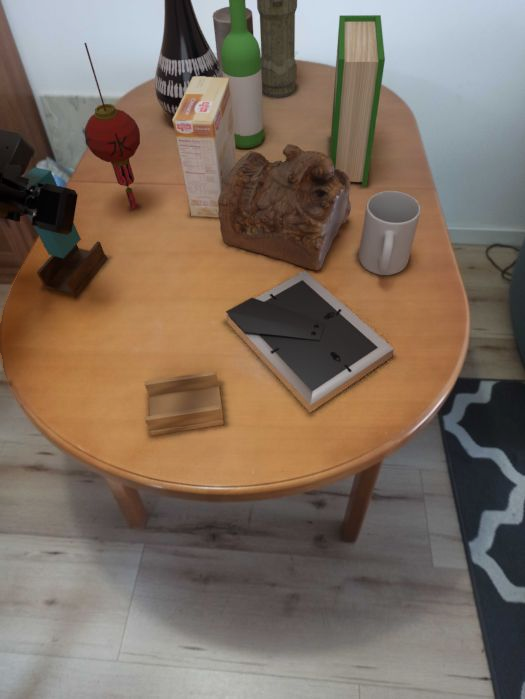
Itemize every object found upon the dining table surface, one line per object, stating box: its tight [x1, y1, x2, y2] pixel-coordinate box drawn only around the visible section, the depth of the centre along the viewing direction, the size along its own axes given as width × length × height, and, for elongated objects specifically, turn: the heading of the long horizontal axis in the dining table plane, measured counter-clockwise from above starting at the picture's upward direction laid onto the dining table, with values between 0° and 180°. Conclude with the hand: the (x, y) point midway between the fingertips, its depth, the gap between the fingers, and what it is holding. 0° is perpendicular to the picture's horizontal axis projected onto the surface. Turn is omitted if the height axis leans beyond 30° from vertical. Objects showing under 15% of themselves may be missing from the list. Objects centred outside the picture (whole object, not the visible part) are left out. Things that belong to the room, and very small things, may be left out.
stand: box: [144, 370, 225, 436], centre depth 70 cm, size 10×7×4 cm, turn 99°
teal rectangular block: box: [23, 167, 82, 258], centre depth 79 cm, size 5×3×13 cm, turn 158°
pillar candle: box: [211, 6, 254, 71], centre depth 126 cm, size 10×10×15 cm
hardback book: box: [329, 14, 386, 188], centre depth 97 cm, size 18×7×24 cm, turn 174°
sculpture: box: [218, 143, 352, 271], centre depth 89 cm, size 19×18×20 cm
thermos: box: [256, 0, 298, 99], centre depth 112 cm, size 9×12×35 cm
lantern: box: [84, 42, 141, 211], centre depth 88 cm, size 10×10×30 cm
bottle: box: [221, 0, 265, 149], centre depth 101 cm, size 8×8×30 cm
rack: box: [36, 240, 108, 298], centre depth 88 cm, size 10×7×4 cm, turn 159°
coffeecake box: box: [171, 76, 238, 219], centre depth 94 cm, size 15×7×20 cm, turn 171°
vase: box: [154, 0, 223, 119], centre depth 108 cm, size 16×16×30 cm
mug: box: [358, 190, 421, 276], centre depth 83 cm, size 12×8×11 cm
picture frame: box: [225, 270, 395, 414], centre depth 77 cm, size 16×3×21 cm
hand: (54, 208), depth 80 cm, fingers closed on teal rectangular block, 3 cm apart
